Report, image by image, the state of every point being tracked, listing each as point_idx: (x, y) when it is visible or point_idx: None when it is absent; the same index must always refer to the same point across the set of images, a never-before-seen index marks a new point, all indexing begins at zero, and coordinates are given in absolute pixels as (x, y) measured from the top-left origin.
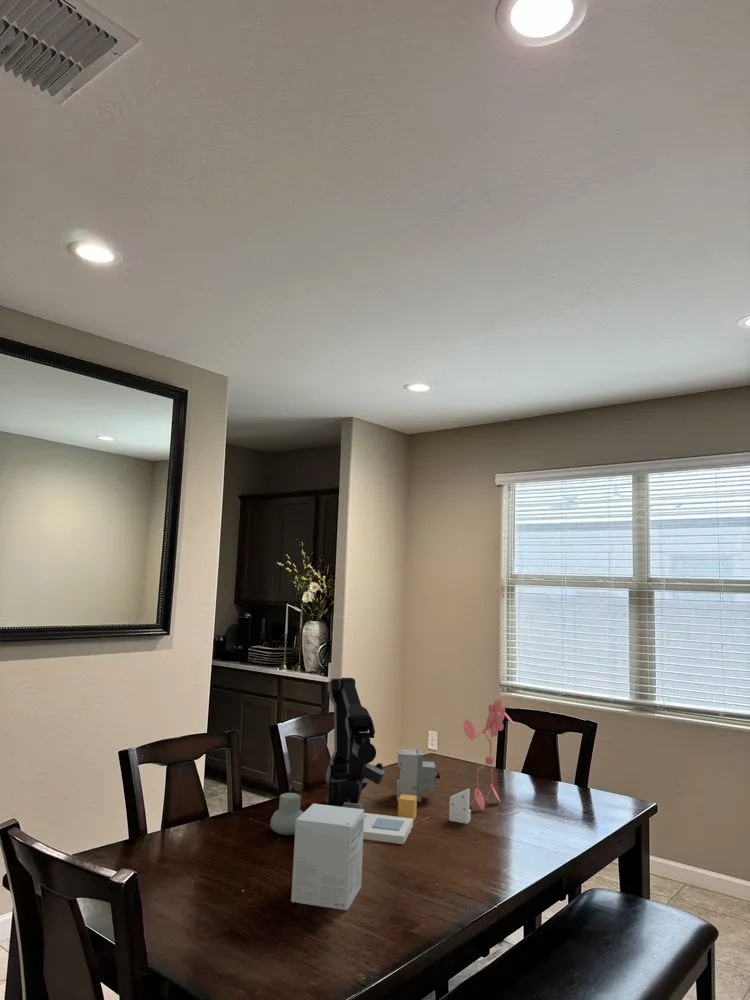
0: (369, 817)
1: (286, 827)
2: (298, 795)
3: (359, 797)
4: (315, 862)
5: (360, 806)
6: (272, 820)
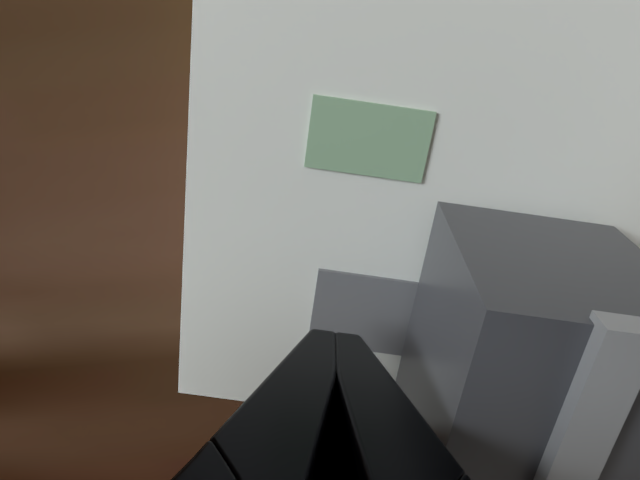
0: (428, 44)
1: None
2: None
3: (271, 449)
4: None
5: (611, 314)
6: None
